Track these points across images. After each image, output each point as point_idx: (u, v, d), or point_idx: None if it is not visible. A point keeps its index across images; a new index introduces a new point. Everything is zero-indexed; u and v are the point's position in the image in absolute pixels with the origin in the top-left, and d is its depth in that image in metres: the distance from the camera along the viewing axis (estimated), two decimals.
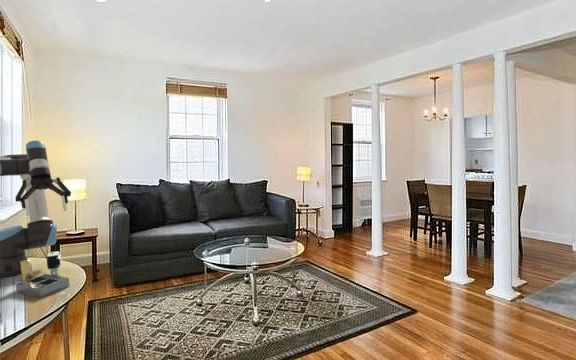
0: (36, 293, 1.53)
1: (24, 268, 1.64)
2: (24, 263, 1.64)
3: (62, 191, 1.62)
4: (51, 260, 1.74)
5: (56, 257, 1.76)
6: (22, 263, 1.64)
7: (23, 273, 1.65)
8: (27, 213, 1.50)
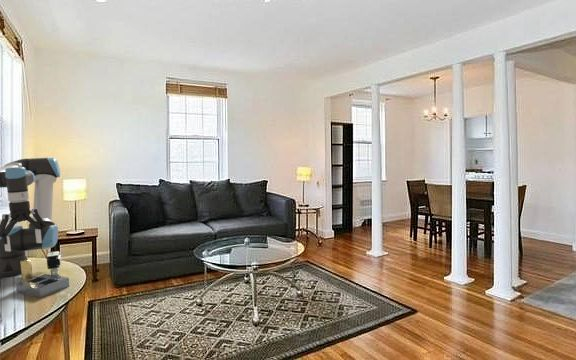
0: (36, 293, 1.53)
1: (24, 268, 1.64)
2: (24, 263, 1.64)
3: (39, 224, 1.70)
4: (51, 260, 1.74)
5: (56, 257, 1.76)
6: (22, 263, 1.64)
7: (23, 273, 1.65)
8: (8, 251, 1.59)
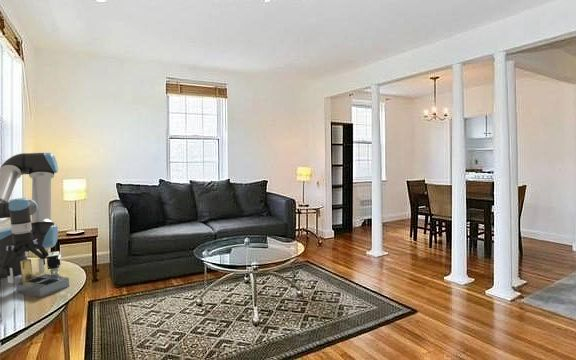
0: (36, 293, 1.53)
1: (24, 268, 1.64)
2: (24, 263, 1.64)
3: (41, 254, 1.71)
4: (51, 260, 1.74)
5: (56, 257, 1.76)
6: (22, 263, 1.64)
7: (23, 273, 1.65)
8: None
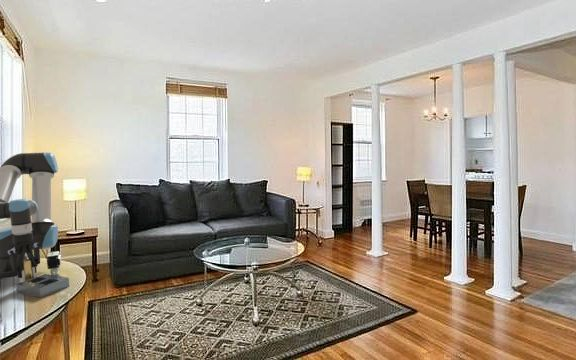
0: (36, 293, 1.53)
1: (24, 268, 1.64)
2: (24, 263, 1.64)
3: (35, 261, 1.69)
4: (51, 260, 1.74)
5: (56, 257, 1.76)
6: None
7: None
8: None
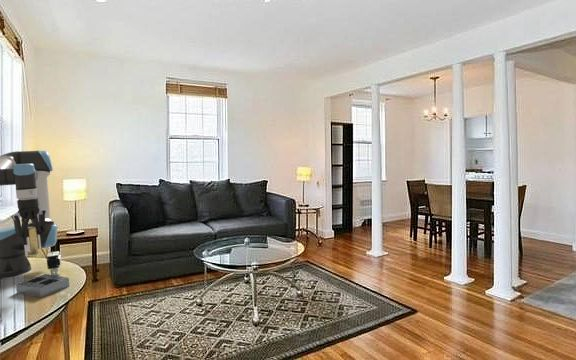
0: (36, 293, 1.53)
1: (29, 235, 1.59)
2: (29, 230, 1.59)
3: (40, 229, 1.63)
4: (51, 260, 1.74)
5: (56, 257, 1.76)
6: None
7: None
8: (28, 251, 1.59)
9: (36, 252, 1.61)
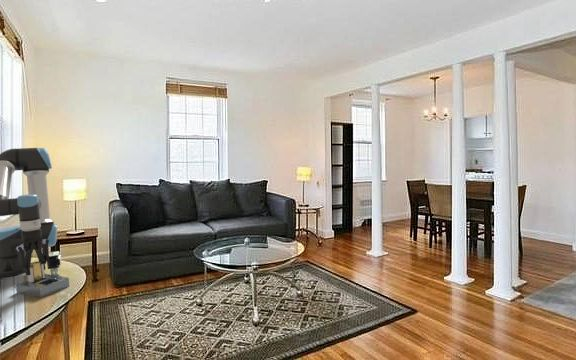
0: (36, 293, 1.53)
1: (33, 271, 1.60)
2: (33, 265, 1.60)
3: (43, 258, 1.65)
4: (51, 260, 1.74)
5: (56, 257, 1.76)
6: (31, 265, 1.60)
7: None
8: None
9: None
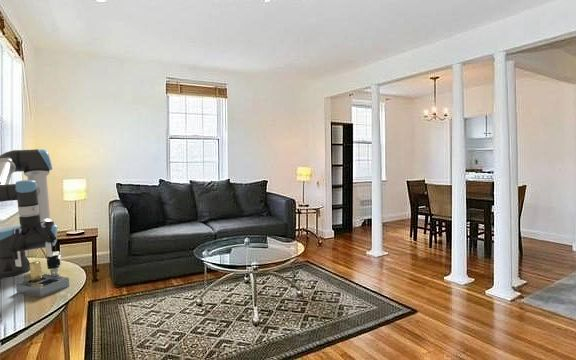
0: (36, 293, 1.53)
1: (33, 271, 1.60)
2: (33, 265, 1.60)
3: (49, 238, 1.67)
4: (51, 260, 1.74)
5: (56, 257, 1.76)
6: (31, 265, 1.60)
7: (32, 276, 1.61)
8: None
9: None
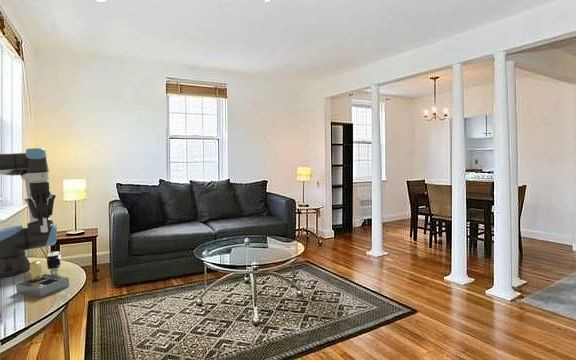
0: (36, 293, 1.53)
1: (33, 271, 1.60)
2: (34, 265, 1.60)
3: (47, 212, 1.68)
4: (51, 260, 1.74)
5: (56, 257, 1.76)
6: (32, 265, 1.60)
7: (32, 276, 1.61)
8: (44, 232, 1.67)
9: None
